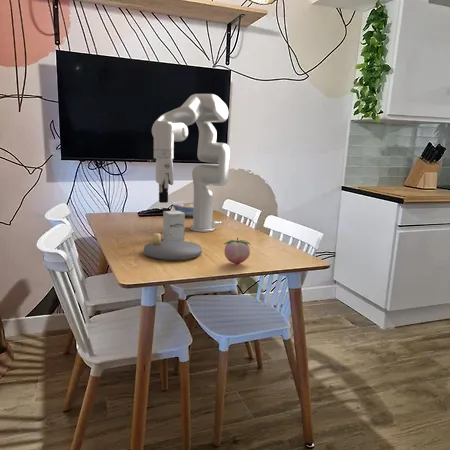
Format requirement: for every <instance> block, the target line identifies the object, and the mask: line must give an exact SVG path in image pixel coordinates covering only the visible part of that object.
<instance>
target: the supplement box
mask: <svg viewBox="0 0 450 450" xmlns="http://www.w3.org/2000/svg"><path fill="white" fill-rule="evenodd" d="M162 213H163V215H162V216H163V217H162V219H163V220H162V223H163V224H162V240H163V241H185V219H186V216H185V213H183V212H181V211H176V210H165V211H164V210H163V211H162Z"/></svg>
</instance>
